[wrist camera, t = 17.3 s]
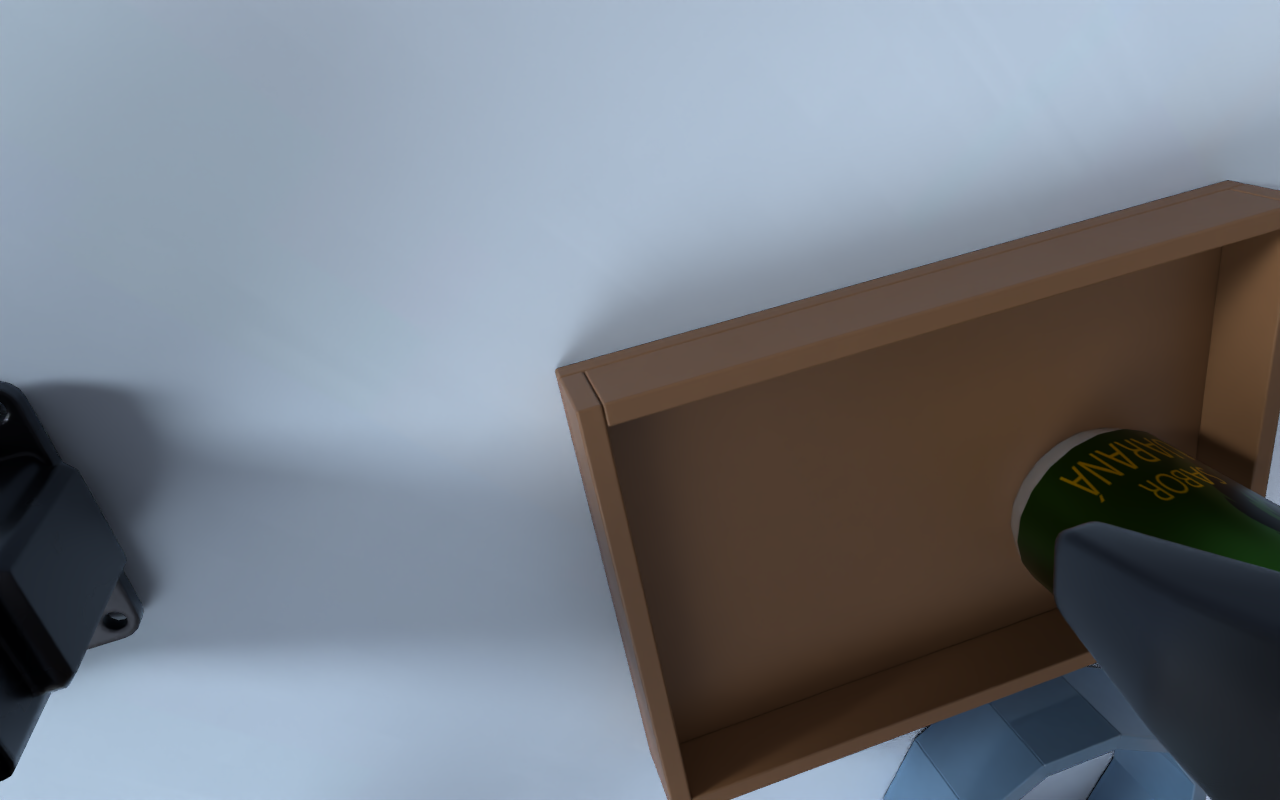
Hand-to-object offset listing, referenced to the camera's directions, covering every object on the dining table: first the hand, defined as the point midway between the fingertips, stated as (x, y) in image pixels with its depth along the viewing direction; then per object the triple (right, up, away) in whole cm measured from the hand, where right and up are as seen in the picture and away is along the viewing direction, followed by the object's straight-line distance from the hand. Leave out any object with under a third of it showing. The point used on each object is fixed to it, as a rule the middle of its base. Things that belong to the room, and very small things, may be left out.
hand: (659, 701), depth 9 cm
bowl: (+13, -11, +24) cm, 29 cm away
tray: (+8, +1, +17) cm, 19 cm away
